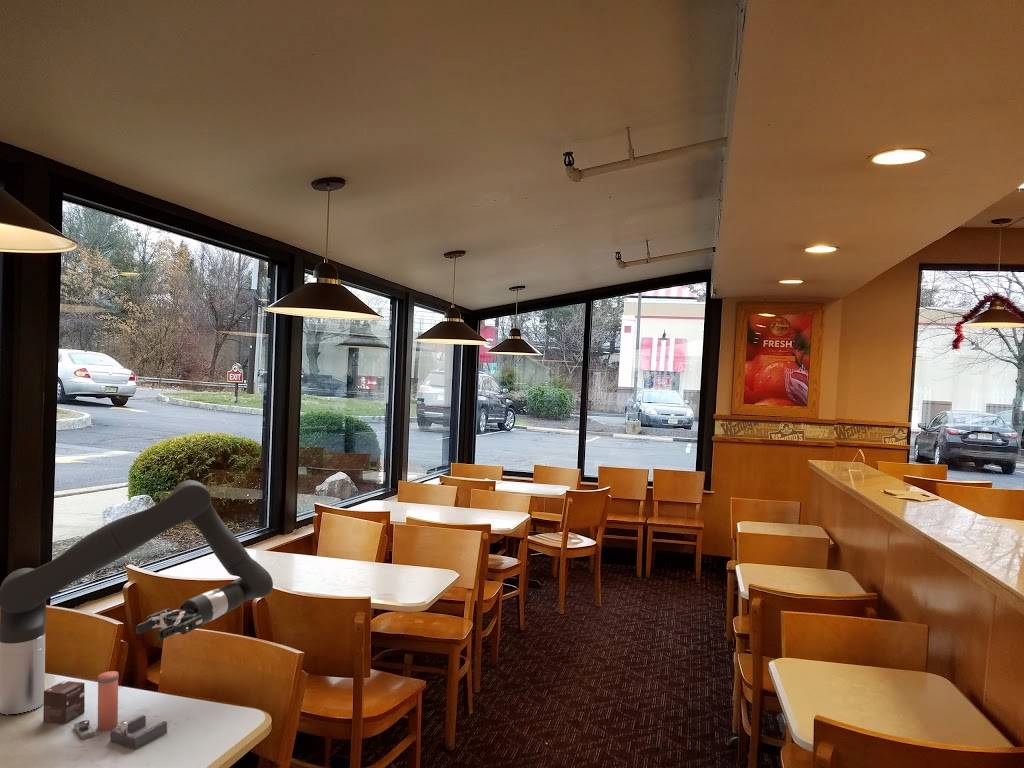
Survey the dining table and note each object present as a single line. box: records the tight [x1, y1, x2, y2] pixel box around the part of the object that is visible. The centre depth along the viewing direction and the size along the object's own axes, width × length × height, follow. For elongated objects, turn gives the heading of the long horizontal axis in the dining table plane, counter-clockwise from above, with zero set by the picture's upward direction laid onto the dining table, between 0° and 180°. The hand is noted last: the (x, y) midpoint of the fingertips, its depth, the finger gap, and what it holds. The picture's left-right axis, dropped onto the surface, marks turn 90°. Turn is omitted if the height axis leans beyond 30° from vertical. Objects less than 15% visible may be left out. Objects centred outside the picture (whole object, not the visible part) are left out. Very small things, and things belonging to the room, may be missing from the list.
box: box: [42, 680, 86, 725], centre depth 163 cm, size 6×6×7 cm
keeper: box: [109, 714, 168, 751], centre depth 154 cm, size 8×8×5 cm
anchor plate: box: [73, 719, 96, 740], centre depth 156 cm, size 7×2×2 cm, turn 46°
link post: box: [97, 670, 120, 732], centre depth 159 cm, size 4×4×12 cm
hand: (147, 632), depth 167 cm, fingers open, 8 cm apart
